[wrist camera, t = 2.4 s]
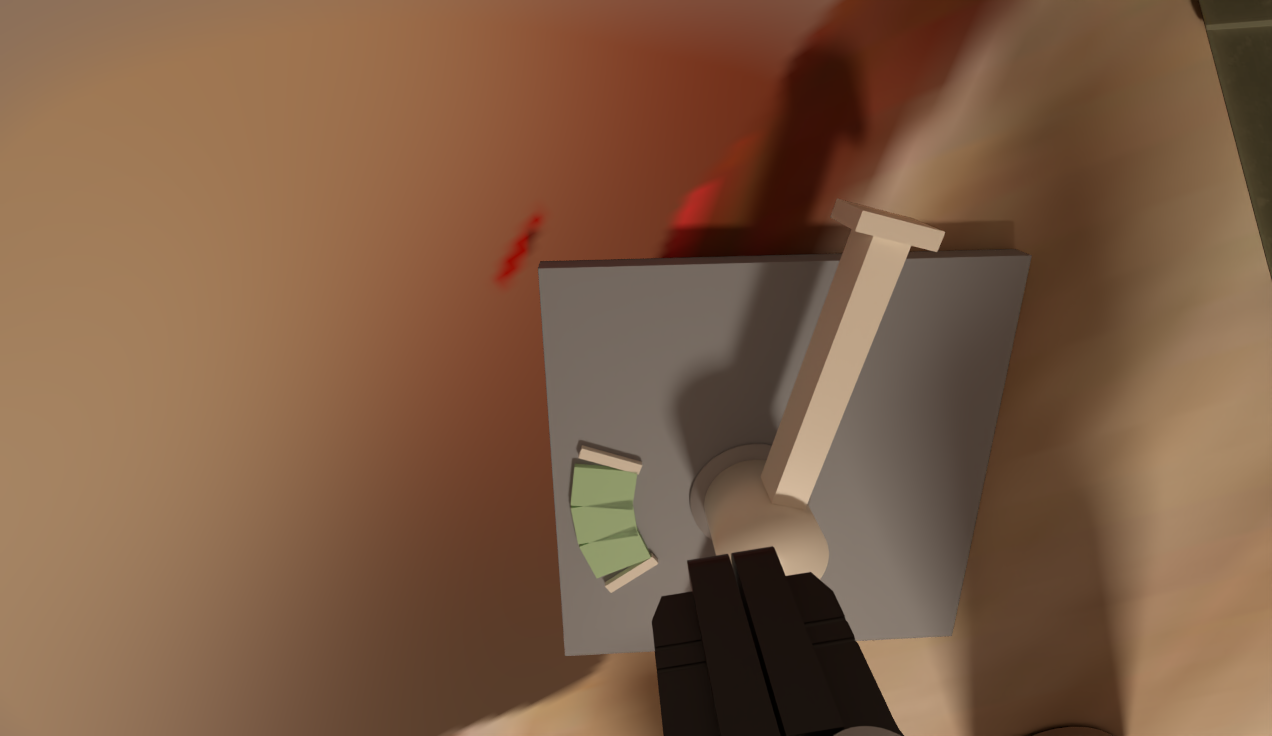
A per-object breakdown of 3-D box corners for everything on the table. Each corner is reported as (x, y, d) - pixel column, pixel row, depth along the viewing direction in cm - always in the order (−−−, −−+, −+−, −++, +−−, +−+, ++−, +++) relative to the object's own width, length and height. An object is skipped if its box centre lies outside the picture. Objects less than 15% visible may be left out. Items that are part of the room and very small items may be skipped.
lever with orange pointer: (744, 642, 34) (763, 712, 30) (660, 628, 34) (668, 699, 30) (914, 216, 26) (968, 238, 23) (808, 188, 26) (845, 207, 22)
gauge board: (940, 619, 36) (954, 640, 35) (566, 638, 36) (564, 660, 34) (1014, 249, 29) (1036, 257, 27) (540, 261, 28) (537, 270, 27)
